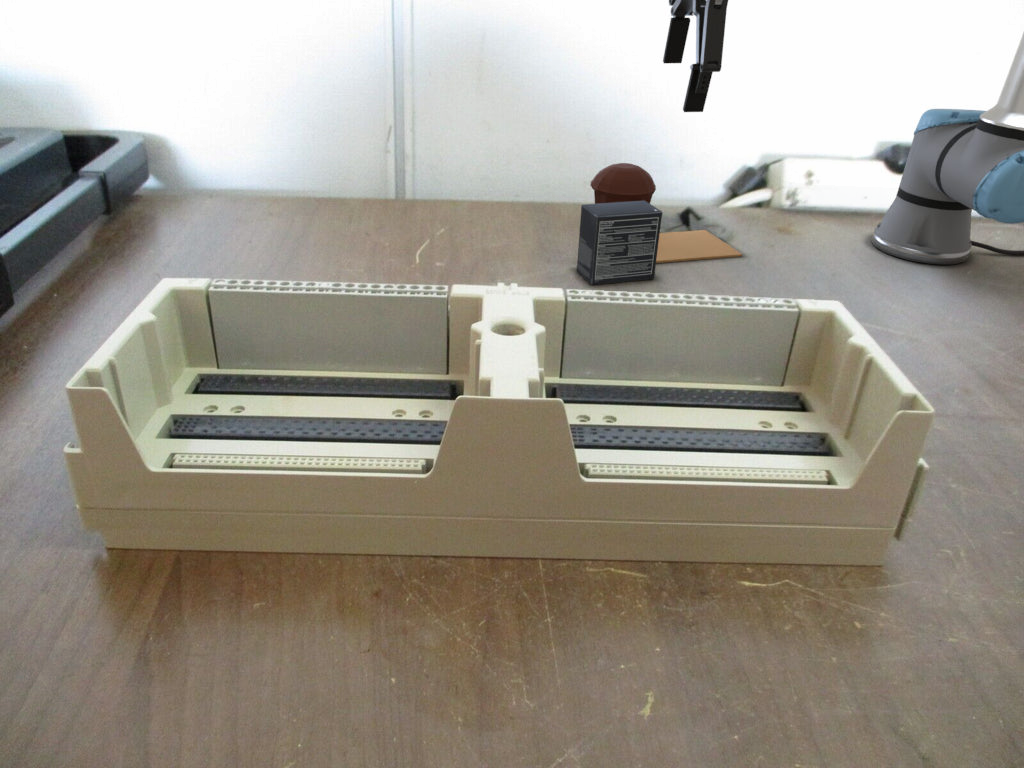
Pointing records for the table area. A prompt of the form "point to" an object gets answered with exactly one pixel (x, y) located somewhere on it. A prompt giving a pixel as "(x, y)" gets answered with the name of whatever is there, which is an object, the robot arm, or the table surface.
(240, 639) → the table surface
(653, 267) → the small box
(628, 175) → the muffin
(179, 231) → the table surface
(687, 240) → the cork mat
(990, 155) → the robot arm
